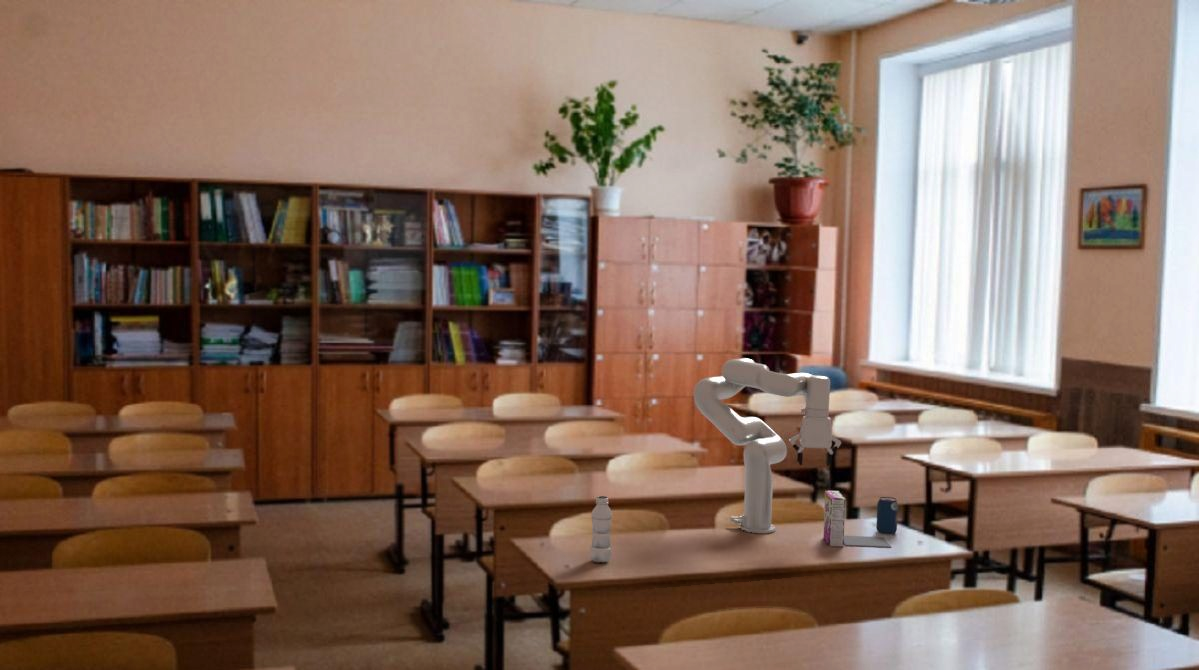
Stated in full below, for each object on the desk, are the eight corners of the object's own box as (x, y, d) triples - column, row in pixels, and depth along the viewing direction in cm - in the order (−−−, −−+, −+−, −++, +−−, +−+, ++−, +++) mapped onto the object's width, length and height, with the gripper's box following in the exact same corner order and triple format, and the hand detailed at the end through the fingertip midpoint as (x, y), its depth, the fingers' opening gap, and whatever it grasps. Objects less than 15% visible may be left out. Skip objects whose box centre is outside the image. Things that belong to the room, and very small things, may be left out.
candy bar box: (822, 537, 363) (824, 490, 361) (837, 538, 363) (839, 490, 361) (828, 546, 352) (830, 497, 350) (843, 547, 351) (846, 498, 350)
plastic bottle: (585, 562, 326) (587, 498, 324) (596, 557, 332) (598, 493, 330) (604, 566, 323) (606, 501, 321) (614, 560, 329) (616, 496, 327)
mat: (845, 545, 353) (845, 544, 353) (839, 536, 365) (839, 535, 365) (891, 547, 353) (891, 546, 352) (883, 538, 364) (883, 537, 364)
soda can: (900, 534, 369) (902, 500, 369) (882, 535, 368) (884, 501, 367) (889, 529, 376) (891, 496, 375) (872, 530, 374) (874, 496, 373)
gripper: (791, 413, 351) (789, 465, 352) (845, 416, 350) (842, 468, 351) (789, 410, 358) (786, 461, 360) (841, 412, 357) (838, 463, 359)
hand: (814, 464), depth 355 cm, fingers open, 8 cm apart
